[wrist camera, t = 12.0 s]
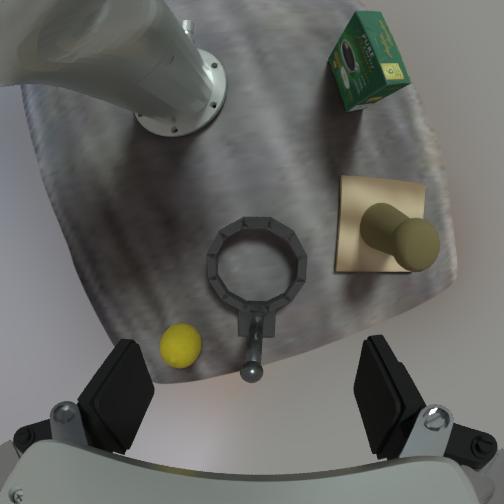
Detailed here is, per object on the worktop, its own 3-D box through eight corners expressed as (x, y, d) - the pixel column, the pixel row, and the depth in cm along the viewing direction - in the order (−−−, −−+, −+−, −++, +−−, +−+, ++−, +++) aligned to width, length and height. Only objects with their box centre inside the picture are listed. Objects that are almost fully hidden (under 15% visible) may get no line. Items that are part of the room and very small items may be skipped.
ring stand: (210, 214, 33) (178, 236, 21) (305, 215, 33) (325, 239, 21) (216, 332, 38) (196, 391, 26) (297, 334, 37) (306, 396, 25)
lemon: (163, 321, 38) (143, 352, 31) (192, 307, 37) (175, 339, 29) (185, 349, 39) (169, 383, 32) (214, 337, 38) (202, 372, 31)
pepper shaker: (403, 243, 32) (449, 271, 21) (363, 254, 33) (399, 288, 22) (398, 198, 30) (446, 211, 20) (355, 207, 31) (393, 224, 21)
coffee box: (365, 112, 28) (414, 83, 16) (345, 114, 29) (386, 84, 16) (347, 57, 26) (381, 8, 14) (326, 59, 27) (353, 7, 14)
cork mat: (340, 175, 31) (342, 175, 30) (422, 183, 30) (425, 184, 29) (334, 269, 34) (336, 271, 33) (412, 269, 34) (415, 271, 33)
